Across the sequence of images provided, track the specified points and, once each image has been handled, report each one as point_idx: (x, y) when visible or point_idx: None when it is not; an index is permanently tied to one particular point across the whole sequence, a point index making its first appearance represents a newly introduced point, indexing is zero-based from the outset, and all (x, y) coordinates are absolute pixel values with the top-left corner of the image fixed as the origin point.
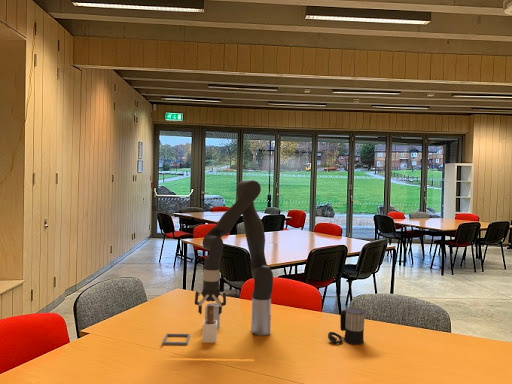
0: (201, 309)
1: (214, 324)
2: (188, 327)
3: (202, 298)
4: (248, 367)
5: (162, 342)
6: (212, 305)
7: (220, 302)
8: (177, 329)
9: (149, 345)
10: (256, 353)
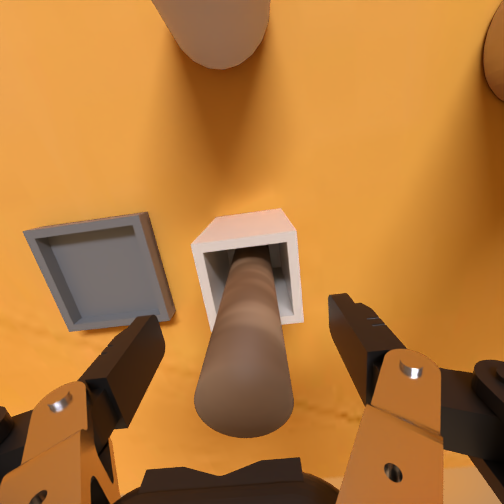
0: (145, 382)
1: (288, 321)
2: (67, 35)
3: (3, 492)
4: None
5: (69, 331)
6: (270, 400)
7: (425, 411)
8: (25, 93)
9: (30, 319)
10: (456, 328)
